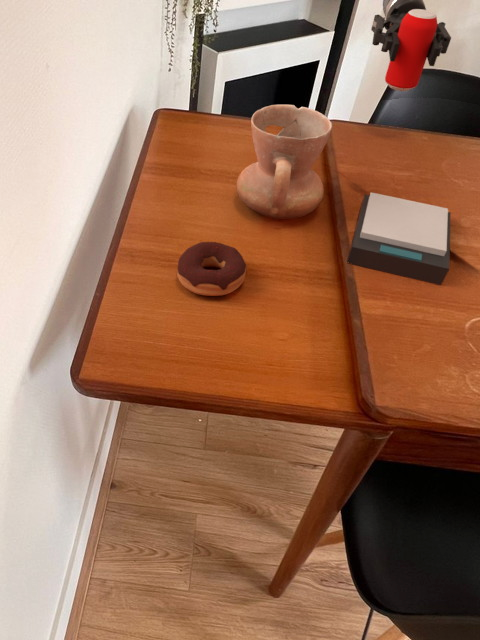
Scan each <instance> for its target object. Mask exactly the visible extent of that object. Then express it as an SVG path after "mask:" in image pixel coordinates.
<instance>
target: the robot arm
mask: <svg viewBox="0 0 480 640" xmlns="http://www.w3.org/2000/svg"><path fill="white" fill-rule="evenodd" d="M413 9H423V10H427V8H426V4H425V1H424V0H382V11H383V13H384V14H383V15H384V16H382V15H380V14H378V13H377V14H375V15H374V16H373V21H372V25H371V29H370V30H371V32H373V37H372V44H371V45H373V46H379V45H380V44H382V46H381V48H380V49H381V50H380V51H381V52H383V53H388V57H389V62H390V61H394V62H395V58H396V55H397V51H398V48H399V45H400V44H399V38H398V32H399V28H400V25H401V22H402V20H403V18H404V17H405V15H406V14H407V13H408V12H409V11H411V10H413ZM384 29H385V32H383V31H384ZM451 40H452V36H451V35H450V33H449V32H448V30H447V29H446V22H444V21H440V22H438V23H437V29H436V32H435V35H434V38H433V41H432V44H431V47H430V50H429V53H428V56H427V59H426V60H427V62H428V66H429V67H435V65H436V61H437V59H438V57H440V55H441V54H443V55H445V54H447V51H448V48H449V46H450V43H451Z"/></svg>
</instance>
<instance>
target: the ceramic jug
mask: <svg viewBox="0 0 480 640" xmlns="http://www.w3.org/2000/svg"><path fill="white" fill-rule="evenodd" d="M269 126H276V127H282V129H281V130H280V131H279V132H278V133H277V134H273V133H270V132H267V129H266V128H267V127H269ZM250 127H251V137H252V142H253V146H254V151H255V155H256V158H257V161H255V162H252V163H251V164H249V165H247V166H246V167H245V168H243V170H242V171H241V172H240V173H239V175H238V177H237V180H236V193H237V195H238V197H239V200H240V201H241V202H242V203H243V204H244V205H245V207H247V208H248V209H250V210H251V211H254V212H256V213H257V214H259V215H262V216H265V217H268V218H271V219H280V220H284V219H285V220H288V219H296V218H300V217H304V216H306V215H309V214H311V213H312V212H313V211H314V210H316V209H317V208H318V206H319V205H320V204H321V202H322V200H323V197H324V194H325V193H324V191H325V190H324V185H323V181H322V180H321V178H320V176H319V174H318V173H316V171H315V170H314V169H312V167H313V166H314V165H315V163H316V162H317V161H318V159H319V157H320V156H321V154H322V152H323V150H324V149H325V146H326V144H327V142H328V141H329V138H330V135H331V133H332V129H333V123H332V122H331V120H330V118H328V117H327V116H326V115H325V114H323V113H321V112H319V111H318V110H315V109H313V108H308V107H307V106H306V107H305V106H301V107H297V106H295V105H294V104H271V105H268V106H264V107H261V108H259V109H257V110H256V111H255V112H254V113H253V114H252V116H251V120H250Z"/></svg>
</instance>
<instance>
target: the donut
mask: <svg viewBox="0 0 480 640" xmlns="http://www.w3.org/2000/svg"><path fill="white" fill-rule="evenodd" d="M206 267H207V268H208V267H212V268H217V269H206ZM246 272H247V264H246V261H245V259H244V257H243V255H242V254H241V253H240V251H238V249H237V248H235V247H234V246H230V245H227V244H225V243H221V242H217V241H200V242H198V243H196V244H193V245H192V246H190V247H188V248H187V249H185V250H184V252H183V253H182V254H181V255H180V257H179V259H178V262H177V273H176V275H177V279H178V281H179V283H180V284H181V285H182V286H183V287H184V288H185V289H187V290H188V291H190V292H192V293H194V294H196V295H200V296H209V297H210V296H211V297H215V296H216V297H217V296H224V295H225V296H226V295H228V294H231V293H232V292H234V291H236V290H237V289H239V288H240V286H241V285H243V283H244V281H245V280H246V275H247V273H246Z"/></svg>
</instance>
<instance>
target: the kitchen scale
mask: <svg viewBox="0 0 480 640" xmlns="http://www.w3.org/2000/svg"><path fill="white" fill-rule="evenodd" d="M451 216H452V215H451V212H450V211H449V208H447V207H442V206H438V205H433V204H429V203H424V202H419V201H414V200H410V199H405V198H400V197H395V196H391V195H385V194H381V193H376V192H371V191H370V193H369V194H364V195H363V198H362V201H361V205H360V207H359V212H358V216H357V221H356V222H355V223H356V224H355V227H354V231H353V236H352V239H351V244H350V247H349V248H350V249H349V252H348V257H347V260H346V263H347V262H349V263H352V264H351V265H353V264H354V266H358V267H362V268H366V269H371V270H375V271H379V272H384V273H388V274H392V275H396V276H401V277H405V278H409V279H412V280H413V279H414V280H418V281H421V282H426V283H430V284H435V285H438V286H439V285H440V286H442V284H443V282H444V280H445V278H446V276H447V274H448V273H449V271H450V258H451V257H450V254H451V253H450V252H451V251H450V249H451ZM349 263H348V264H349Z"/></svg>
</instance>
